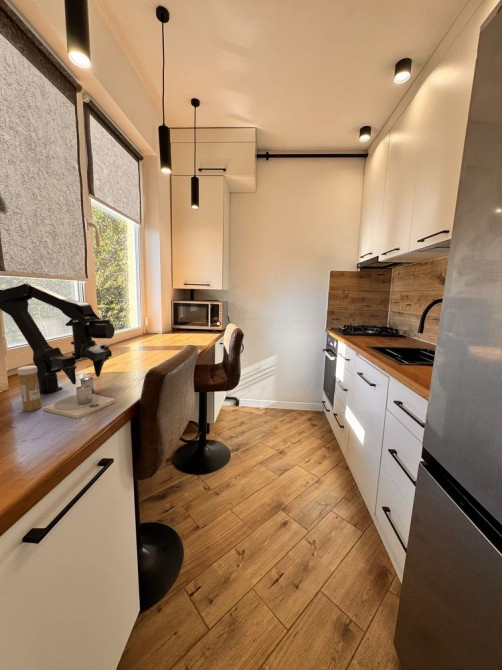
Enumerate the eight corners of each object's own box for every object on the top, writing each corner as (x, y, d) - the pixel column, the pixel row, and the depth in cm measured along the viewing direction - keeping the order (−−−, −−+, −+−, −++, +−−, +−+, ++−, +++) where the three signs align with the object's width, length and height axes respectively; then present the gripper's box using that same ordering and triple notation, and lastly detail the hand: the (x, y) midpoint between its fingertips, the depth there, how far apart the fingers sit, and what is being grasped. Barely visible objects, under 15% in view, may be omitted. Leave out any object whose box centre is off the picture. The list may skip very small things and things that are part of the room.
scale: (43, 410, 80) (43, 405, 80) (83, 395, 92) (83, 391, 92) (77, 418, 75) (77, 413, 75) (115, 401, 87) (115, 397, 87)
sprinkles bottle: (40, 409, 81) (35, 367, 79) (21, 413, 78) (15, 369, 76) (42, 404, 85) (37, 364, 83) (24, 407, 82) (18, 366, 80)
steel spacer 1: (79, 392, 95) (77, 379, 95) (89, 388, 99) (88, 376, 98) (86, 394, 94) (85, 380, 93) (96, 390, 98) (95, 377, 97)
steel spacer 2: (74, 403, 82) (72, 388, 81) (86, 399, 85) (85, 384, 85) (83, 405, 80) (82, 390, 79) (95, 400, 84) (94, 386, 83)
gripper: (72, 344, 82) (77, 391, 84) (121, 336, 99) (123, 375, 102) (49, 341, 86) (54, 387, 88) (99, 334, 103) (102, 372, 106)
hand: (86, 380), depth 96 cm, fingers open, 9 cm apart
